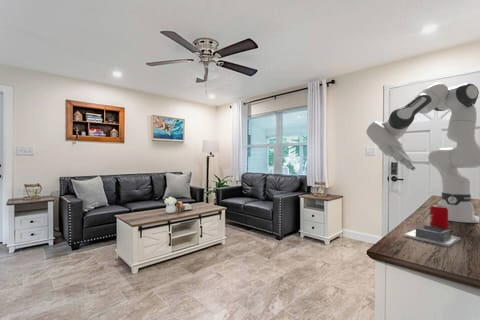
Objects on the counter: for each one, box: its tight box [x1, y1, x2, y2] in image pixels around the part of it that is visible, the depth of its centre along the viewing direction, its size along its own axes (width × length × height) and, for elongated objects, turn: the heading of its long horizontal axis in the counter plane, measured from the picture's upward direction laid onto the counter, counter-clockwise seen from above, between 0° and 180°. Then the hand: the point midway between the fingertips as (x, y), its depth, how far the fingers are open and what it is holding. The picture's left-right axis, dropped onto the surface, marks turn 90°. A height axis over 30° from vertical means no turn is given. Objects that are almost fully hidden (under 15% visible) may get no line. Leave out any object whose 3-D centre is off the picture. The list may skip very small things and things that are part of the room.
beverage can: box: [429, 204, 449, 229], centre depth 110 cm, size 6×6×12 cm
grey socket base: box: [403, 224, 461, 248], centre depth 102 cm, size 14×15×4 cm
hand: (412, 169), depth 118 cm, fingers open, 8 cm apart
